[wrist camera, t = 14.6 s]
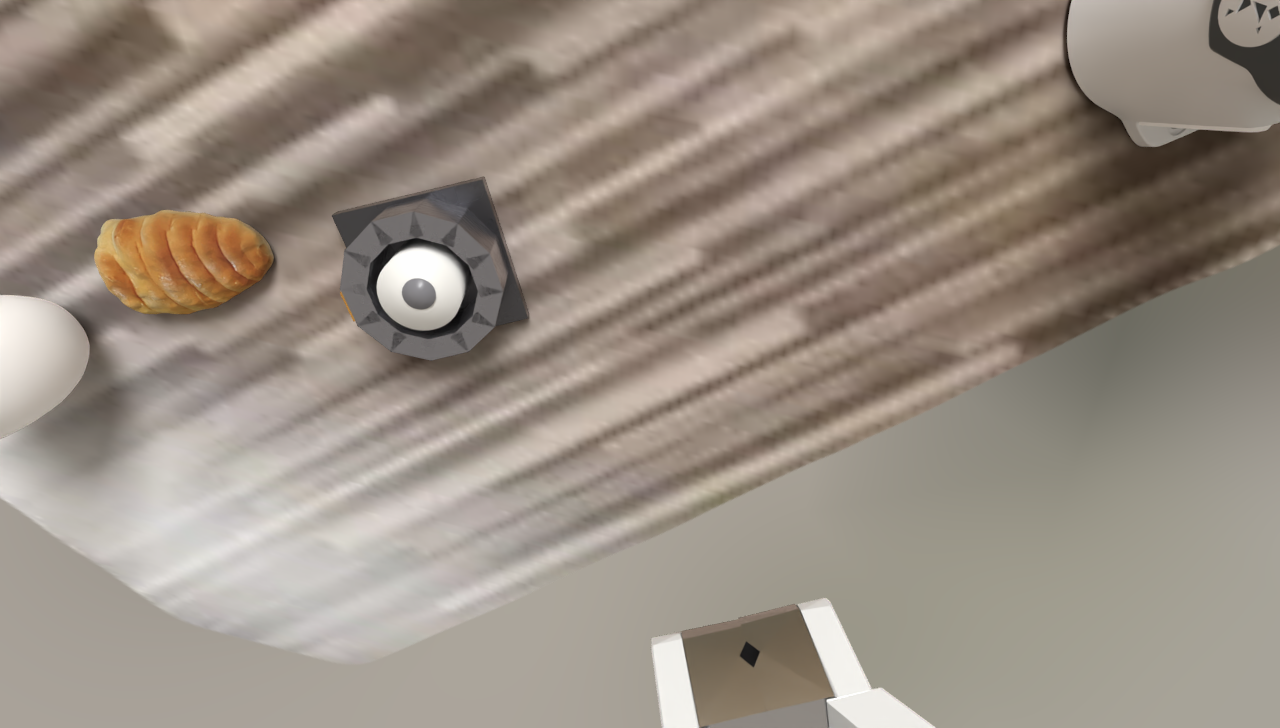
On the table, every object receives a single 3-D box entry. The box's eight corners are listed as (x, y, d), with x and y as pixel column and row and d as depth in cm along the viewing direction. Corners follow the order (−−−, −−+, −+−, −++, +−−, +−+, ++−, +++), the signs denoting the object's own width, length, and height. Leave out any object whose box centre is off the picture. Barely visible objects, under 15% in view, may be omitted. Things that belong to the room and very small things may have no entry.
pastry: (250, 190, 39) (220, 204, 36) (296, 286, 42) (272, 308, 39) (105, 218, 39) (61, 235, 35) (163, 313, 42) (127, 336, 39)
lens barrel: (484, 176, 40) (473, 192, 35) (529, 312, 44) (524, 341, 40) (337, 211, 40) (307, 232, 35) (397, 344, 45) (378, 376, 40)
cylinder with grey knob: (457, 226, 40) (444, 246, 36) (481, 295, 42) (471, 321, 38) (383, 243, 40) (362, 265, 36) (411, 311, 42) (394, 339, 38)
